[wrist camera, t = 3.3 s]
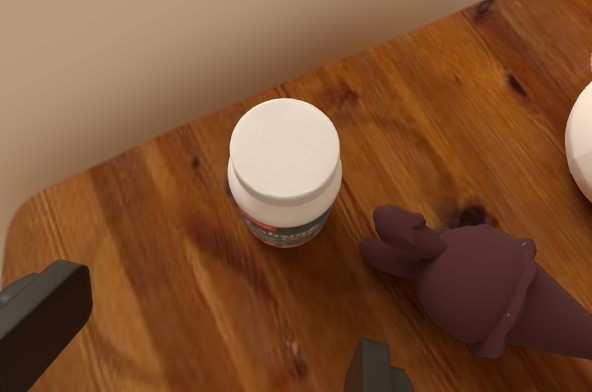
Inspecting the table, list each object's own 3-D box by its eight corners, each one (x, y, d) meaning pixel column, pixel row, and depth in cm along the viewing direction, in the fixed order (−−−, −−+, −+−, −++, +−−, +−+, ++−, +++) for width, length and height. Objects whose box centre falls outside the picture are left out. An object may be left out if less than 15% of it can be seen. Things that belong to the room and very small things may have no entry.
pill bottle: (239, 246, 25) (206, 207, 15) (247, 165, 26) (222, 82, 17) (327, 251, 25) (351, 214, 15) (330, 169, 26) (352, 89, 17)
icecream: (700, 278, 18) (405, 149, 21) (707, 440, 14) (350, 255, 18) (594, 316, 24) (375, 210, 27) (580, 438, 20) (330, 300, 24)
